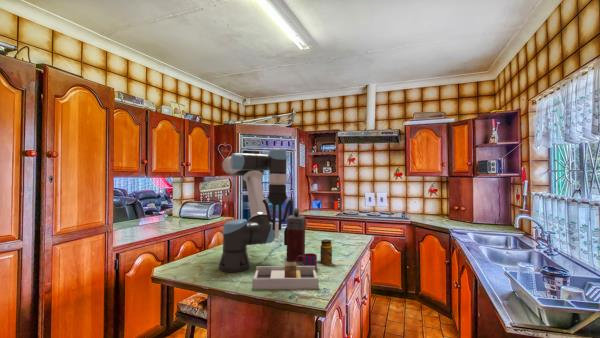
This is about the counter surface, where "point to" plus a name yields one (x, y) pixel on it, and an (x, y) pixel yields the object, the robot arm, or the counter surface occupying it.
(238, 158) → the robot arm
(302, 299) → the counter surface
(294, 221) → the dark red tall piece
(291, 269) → the block
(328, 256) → the condiment
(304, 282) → the box
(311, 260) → the mug
